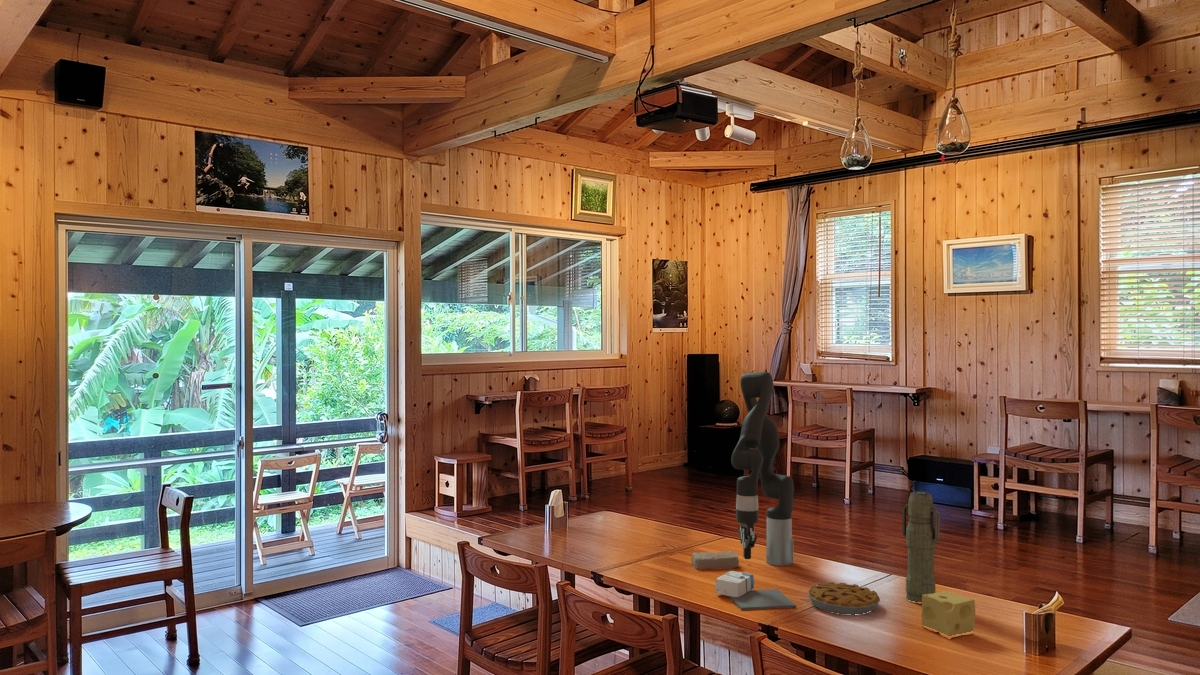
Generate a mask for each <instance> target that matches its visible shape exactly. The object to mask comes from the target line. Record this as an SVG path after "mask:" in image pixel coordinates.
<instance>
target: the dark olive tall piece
mask: <svg viewBox="0 0 1200 675" xmlns="http://www.w3.org/2000/svg"><path fill="white" fill-rule="evenodd" d="M907 510H908V511H907ZM907 512H908V520H907ZM901 515H902V516H901V517H902V521H901V522H902V526H901V528H902V530H901V531H902V536H904V538H905V540H906V542H905V543H906V547H907V575H906V577H905V593H906V597H905V598H907V599H908V600H911V601H915V602H922V595H925V594H933V593H936V579H935V576H934V573H935V572H934V570H935V568H934V566H935V564H934V563H935V562H934V559H935V554H934V552H935V550H936V542H938V541H940V538H941V534H940V531H941V529H940V528H941V512H940V511H939V510H938V509H937V508H935V507H934V500H933V497H932V494H931V493H929V491H923V490H914V491H912V492H910V495H909V497H908V503H906V504H905V505H904V506H903V507H902V513H901ZM933 519H934V520H933ZM907 522H908V523H907ZM907 599H906V600H907ZM908 600H907V601H908Z"/></svg>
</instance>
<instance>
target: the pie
mask: <svg viewBox="0 0 1200 675" xmlns="http://www.w3.org/2000/svg"><path fill="white" fill-rule="evenodd" d="M807 595H808V598H810V600H811V603H812V605H813V606H815V607H816V608H817V607H818V609H819V610H822V611H826V612H827V611H828V612H827V613H831V612H833V613H832V614H836V613H839V614H838V615H841V614H851V615H855V614H863V613H867V612H869V611H872V610H873V609H874V608H875V609H876V607H877V605H878V604H879V603H880V602H881V599H880V596H879V595H878V593H877V592H876V591H875V590H870V588H868V587H865V586H864V587H861V586H860V585H858V584H855V583H854V584H848V583H846V582H845V583H844V582H839V583H835V582H828V583H818V584H817V585H812V586H811V587H810V588H809V590H808V591H807ZM875 609H874V610H875ZM874 610H873V611H874ZM873 611H872V612H873ZM867 614H868V613H867ZM851 615H850V616H851Z"/></svg>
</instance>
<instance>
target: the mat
mask: <svg viewBox="0 0 1200 675" xmlns="http://www.w3.org/2000/svg"><path fill="white" fill-rule="evenodd" d="M727 597H728V598H729V599H730V600H731V601H732V602H733V603H734V604H735V605H736V607H738V608H740V609H741V610H740V611H746V610H747V611H749V610H750V611H751V610H752V609H756V610H772V609H771V608H778V609H793V607H795V608H797V604H796V603H794V602H793V601H792V600H791V599H790V598H789V597H788V596H786V595H785V594H784V593H783V592H782V591H780V590H779V589H778V588H775V589H774V588H771V589H752V590H750V591H749V592H747V593H745V594H744V595H742V596H740V597H737V598H736V597H731V596H727Z"/></svg>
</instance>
